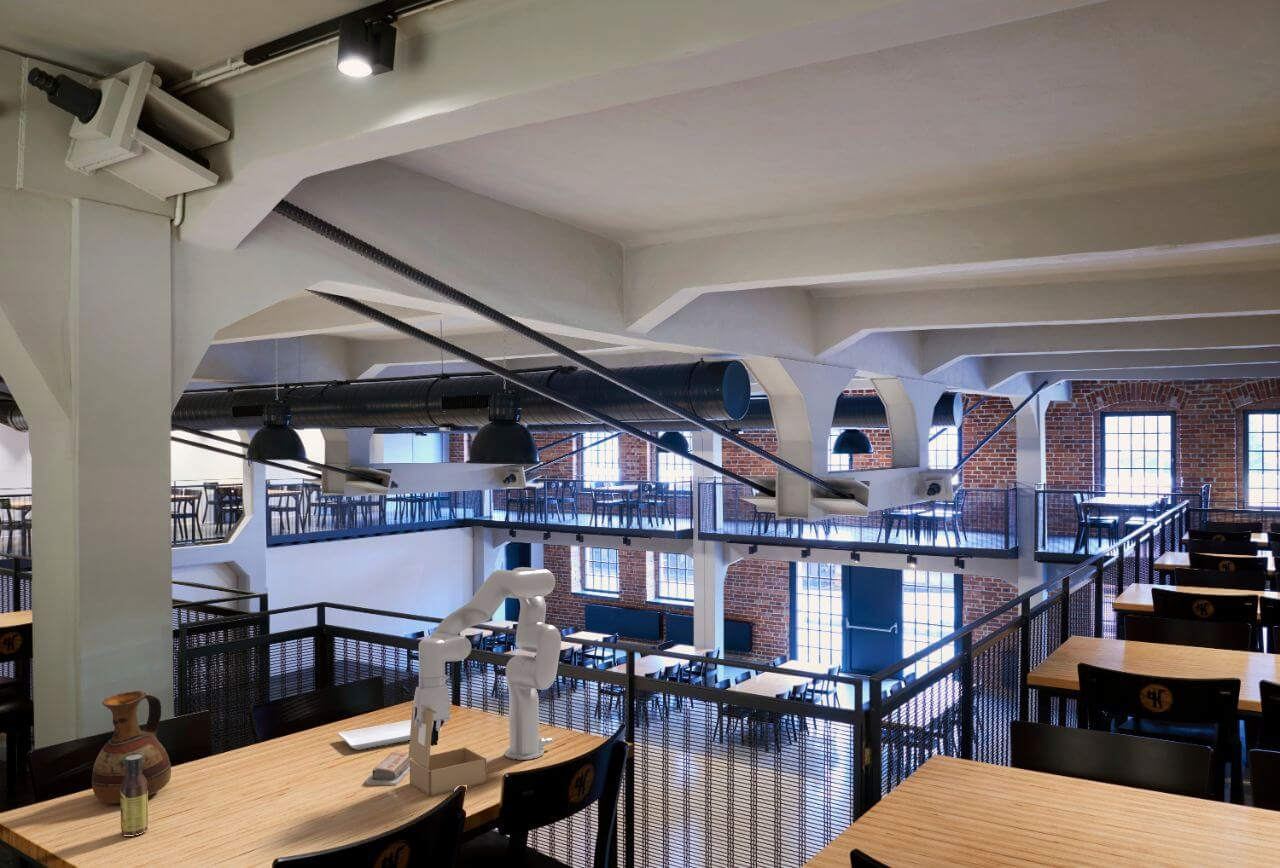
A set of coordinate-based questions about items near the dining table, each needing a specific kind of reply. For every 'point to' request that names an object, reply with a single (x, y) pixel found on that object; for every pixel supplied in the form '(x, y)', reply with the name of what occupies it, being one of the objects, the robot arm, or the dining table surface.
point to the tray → (377, 735)
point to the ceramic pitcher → (130, 747)
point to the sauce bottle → (134, 798)
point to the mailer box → (448, 771)
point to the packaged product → (390, 770)
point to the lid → (421, 739)
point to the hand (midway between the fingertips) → (432, 744)
